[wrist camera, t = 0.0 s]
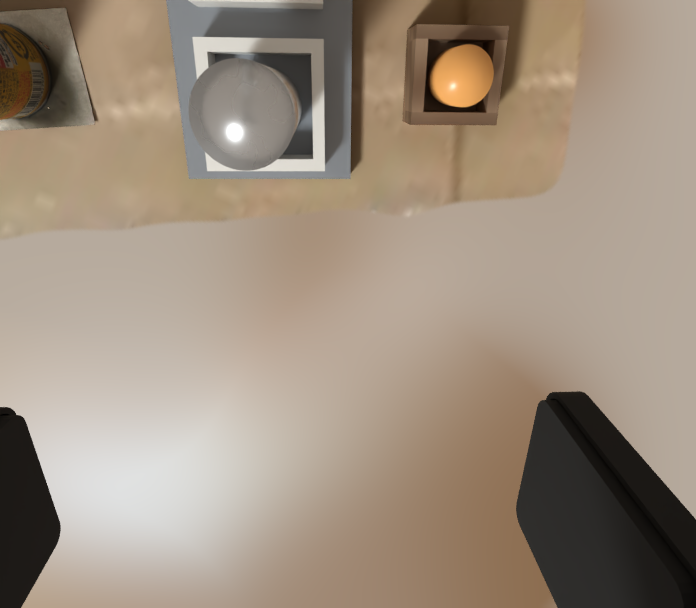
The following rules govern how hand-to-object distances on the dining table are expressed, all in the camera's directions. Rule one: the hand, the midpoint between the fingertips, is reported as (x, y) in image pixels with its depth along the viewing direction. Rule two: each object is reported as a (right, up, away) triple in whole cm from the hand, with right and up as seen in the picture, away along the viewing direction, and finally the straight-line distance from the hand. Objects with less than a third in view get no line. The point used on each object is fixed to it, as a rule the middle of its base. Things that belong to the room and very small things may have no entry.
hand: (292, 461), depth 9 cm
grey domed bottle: (-5, +17, +25) cm, 30 cm away
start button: (+8, +19, +24) cm, 31 cm away
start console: (+8, +19, +26) cm, 34 cm away
